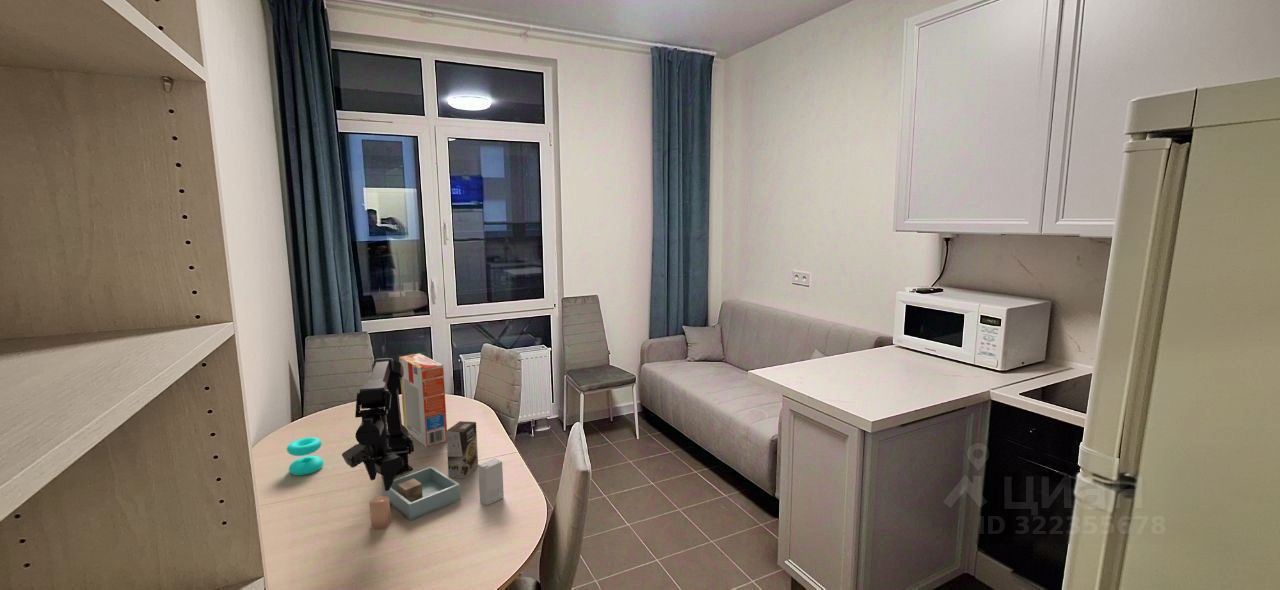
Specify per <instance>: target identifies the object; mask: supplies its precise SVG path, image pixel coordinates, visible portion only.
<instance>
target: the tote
mask: <svg viewBox="0 0 1280 590" xmlns="http://www.w3.org/2000/svg"><path fill="white" fill-rule="evenodd" d="M411 479H415V480H417V481H418V482H420V483H421V484H422V495H423V498H421V499H419V500H416V501H414V502H410V501H408V500H407V499H406V498H404V497H403V496H402V495H400V494H399V493H398V484H400V483H403V482H406V481H408V480H411ZM382 492H383V493H382V494H383V495H382V496H386V497H388V498H389V504H390V507H393V508H394V509H395V510H396V511H397V512H399V513H400V514H401V515H403V516H404V517H405V518H406V519H407V520H409V522H412V521H414V520H416V519H417V520H418V517H419V518H422V517H424V516H426V515H428V514H430V512H431V513H433V512H435V511H437V510H440V509H442V508H444V507H445V508H446V507H447V506H449V505H452V504H454V503H456V502H459V501H461V500H462V495H461V484H460V483H459V482H457V481H455V480H454V479H452V477H449V476H448V475H446V474H445V473H443V472H441V471H440V470H439V469H436V468H435V467H434V466H429V467H425V468H423V469H421V470H418V471H415V472H412V473H409V474H407V475H404V476H401V477H398V478H394V481H393V483H392V485H391V487H390V490H388V491H385V489H384V485H383V484H382ZM423 515H424V516H423Z"/></svg>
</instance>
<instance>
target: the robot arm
mask: <svg viewBox="0 0 1280 590" xmlns="http://www.w3.org/2000/svg"><path fill="white" fill-rule="evenodd" d="M403 375H404V370H403V366H402V364H401V363H400V362H399V361H397V360H395V359H393V358H390V357H384V358H376V359H374V360H373V363H372V365H371V374H370V378H369V380H368V382H366V383H364V384H362V386H361V387H360V389H359V391H358V392H357V393H356V401H355V415H354V416H355V418H361V423H360V425H359V426H358V427H357V429H356V432H355V436H354V437H355V439H356V441H357V443H356V444H354V445H353V446H351V447H350V448H348V449H347V450H345V451H344V452H342V454H341V456H342V458H343V460H344V462H345V463H346V465H348V466H349V467H350V468H352V469H353V468H356V467H357V466H359V465H360V464H362V463H363V465H364V467H365V469H366V471H367V475H368V477H369V480H370V481H375V480H376V478H377V473H378V475H380V476H381V480H382V486H383V485H384V489H385V491H388V490H390V487H391V485H392V483H393V481H394V480H395V479H396V476H399V475H401V474H404V473H407V472H410V471H412V470H414V467H413V466H411V465H410V464H409V455H411V454H412V453H413V452H415V446H414V441H413V439H412V438H411V436H409V435H410V434H409V433H408V430H407V429H406V428H405V427H404V424H403V422H402V413H401V412H402V411H401V403H400V395H399V388H400V387H401V380H402V377H403Z"/></svg>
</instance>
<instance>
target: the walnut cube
mask: <svg viewBox="0 0 1280 590" xmlns="http://www.w3.org/2000/svg"><path fill="white" fill-rule="evenodd" d="M398 493H399V494H400V495H402V496H403V497H404V498H406V499H407V500H408V501H410V502H414V501H416V500H419V499H421V498H423V495H422V484H421V483H420V482H418V481H417V480H415V479H411V480H408V481H406V482H403V483H400V484H398Z"/></svg>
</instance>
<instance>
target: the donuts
mask: <svg viewBox="0 0 1280 590" xmlns="http://www.w3.org/2000/svg"><path fill="white" fill-rule="evenodd" d="M322 444H323V443H322V440H321V439H320V438H318V437H313V436H311V437H309V436H308V437H303V438H299V439H296V440H294V441H292V442H290V443H289V444H288V445H287V447H286V451H287V453H288V454H289V455H291V456H295V457H299V458H297V459H295V460H293V462H291V463H290V465H289V467H288V471H289V473H290V474H291V475H293V476H305V475H309V474H312V473H315V472H317V471H319V470H321V468H322V467H323V465H324V460H323V458H322V457H320V456H318V455H317V456H316V455H310V454H313V453H316V452H317V451H318V450H319V449H320V448H321V446H322Z"/></svg>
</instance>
